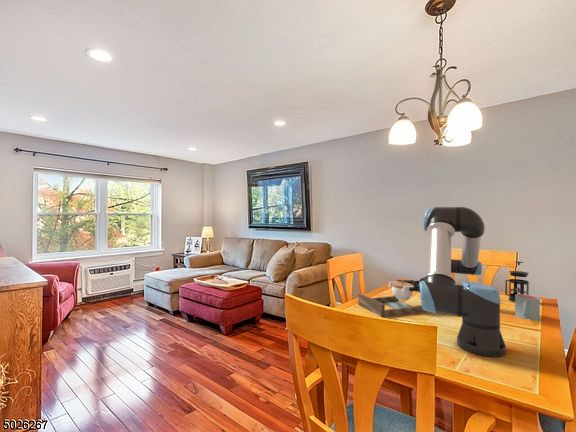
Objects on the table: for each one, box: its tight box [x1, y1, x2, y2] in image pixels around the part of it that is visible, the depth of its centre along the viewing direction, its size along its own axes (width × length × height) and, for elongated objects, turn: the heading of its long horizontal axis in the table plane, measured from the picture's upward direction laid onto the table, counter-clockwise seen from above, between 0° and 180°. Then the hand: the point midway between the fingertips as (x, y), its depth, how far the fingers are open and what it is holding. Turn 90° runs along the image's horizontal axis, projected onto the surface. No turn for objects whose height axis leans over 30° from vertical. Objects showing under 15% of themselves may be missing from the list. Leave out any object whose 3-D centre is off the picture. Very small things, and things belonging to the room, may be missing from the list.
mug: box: [514, 293, 541, 321], centre depth 140 cm, size 14×9×10 cm
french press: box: [504, 260, 530, 303], centre depth 170 cm, size 12×9×23 cm
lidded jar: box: [391, 281, 414, 301], centre depth 156 cm, size 11×11×9 cm
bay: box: [357, 293, 426, 318], centre depth 154 cm, size 26×21×6 cm
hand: (396, 287), depth 155 cm, fingers closed on lidded jar, 11 cm apart
